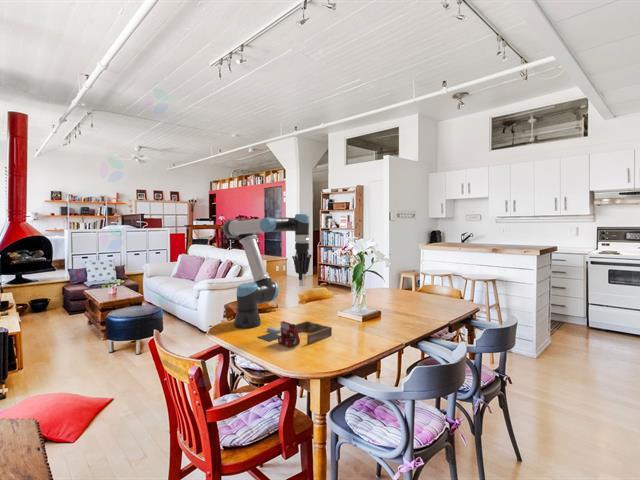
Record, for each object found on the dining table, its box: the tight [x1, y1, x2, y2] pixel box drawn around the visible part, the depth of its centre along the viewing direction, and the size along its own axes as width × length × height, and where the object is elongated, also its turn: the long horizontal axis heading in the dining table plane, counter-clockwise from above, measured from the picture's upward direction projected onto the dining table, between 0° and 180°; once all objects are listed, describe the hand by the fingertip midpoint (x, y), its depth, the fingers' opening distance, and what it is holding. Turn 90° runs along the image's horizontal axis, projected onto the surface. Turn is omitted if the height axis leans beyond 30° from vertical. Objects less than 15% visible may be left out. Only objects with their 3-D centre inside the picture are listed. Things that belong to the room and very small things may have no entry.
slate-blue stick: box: [266, 326, 281, 335], centre depth 193 cm, size 8×2×2 cm, turn 48°
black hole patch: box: [257, 332, 280, 342], centre depth 184 cm, size 9×9×1 cm
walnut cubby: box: [295, 320, 333, 345], centre depth 186 cm, size 17×17×4 cm
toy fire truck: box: [277, 320, 301, 348], centre depth 174 cm, size 7×12×10 cm, turn 44°
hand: (302, 285), depth 196 cm, fingers closed
